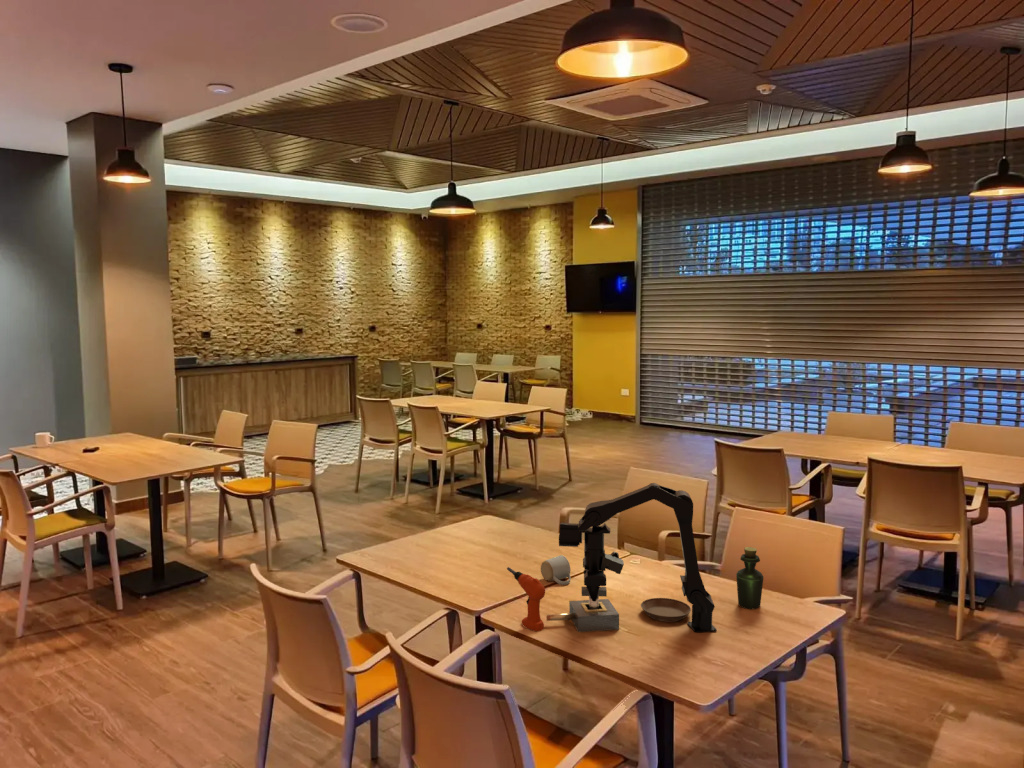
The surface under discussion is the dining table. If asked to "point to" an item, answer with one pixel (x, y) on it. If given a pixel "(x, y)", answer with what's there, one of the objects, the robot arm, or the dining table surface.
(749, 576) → the potion bottle
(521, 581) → the toy drill
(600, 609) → the block
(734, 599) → the dining table surface
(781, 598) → the dining table surface
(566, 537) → the robot arm
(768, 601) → the dining table surface
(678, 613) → the saucer
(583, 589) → the block
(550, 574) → the ceramic mug
